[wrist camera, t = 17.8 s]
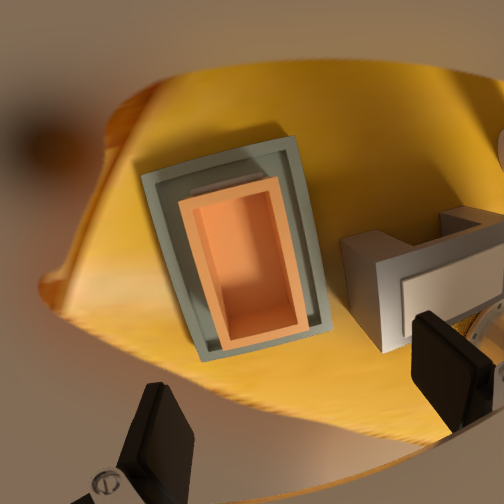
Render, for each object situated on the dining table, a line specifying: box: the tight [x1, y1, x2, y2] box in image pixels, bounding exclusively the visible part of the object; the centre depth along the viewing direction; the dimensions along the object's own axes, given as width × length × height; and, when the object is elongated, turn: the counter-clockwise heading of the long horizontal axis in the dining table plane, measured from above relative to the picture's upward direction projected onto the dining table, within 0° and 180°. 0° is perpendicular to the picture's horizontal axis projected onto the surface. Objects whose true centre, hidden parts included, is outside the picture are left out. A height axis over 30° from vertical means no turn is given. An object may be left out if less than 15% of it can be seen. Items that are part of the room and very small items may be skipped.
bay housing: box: [339, 206, 504, 354], centre depth 26 cm, size 16×8×8 cm, turn 104°
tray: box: [141, 135, 333, 362], centre depth 27 cm, size 18×13×2 cm
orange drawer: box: [178, 172, 309, 351], centre depth 25 cm, size 13×7×5 cm, turn 13°
